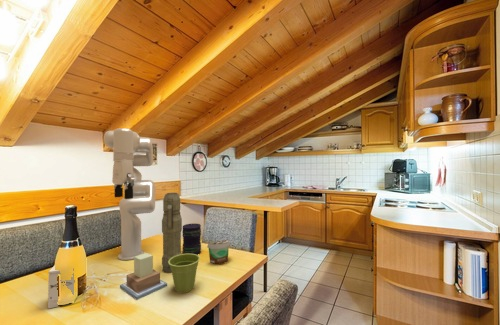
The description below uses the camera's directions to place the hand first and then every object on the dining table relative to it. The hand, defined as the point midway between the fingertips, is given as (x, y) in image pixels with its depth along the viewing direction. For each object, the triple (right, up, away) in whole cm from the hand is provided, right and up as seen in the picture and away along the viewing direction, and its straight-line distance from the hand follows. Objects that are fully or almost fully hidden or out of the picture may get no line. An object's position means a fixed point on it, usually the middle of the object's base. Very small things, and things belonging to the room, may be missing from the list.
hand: (123, 197), depth 98 cm
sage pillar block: (+12, -29, -7) cm, 32 cm away
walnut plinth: (+12, -34, -7) cm, 37 cm away
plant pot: (+28, -34, -9) cm, 45 cm away
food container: (+40, -34, +15) cm, 55 cm away
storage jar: (+22, -35, +28) cm, 50 cm away
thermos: (+18, -34, +8) cm, 40 cm away
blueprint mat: (+12, -34, -7) cm, 37 cm away
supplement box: (-12, -34, -16) cm, 40 cm away
